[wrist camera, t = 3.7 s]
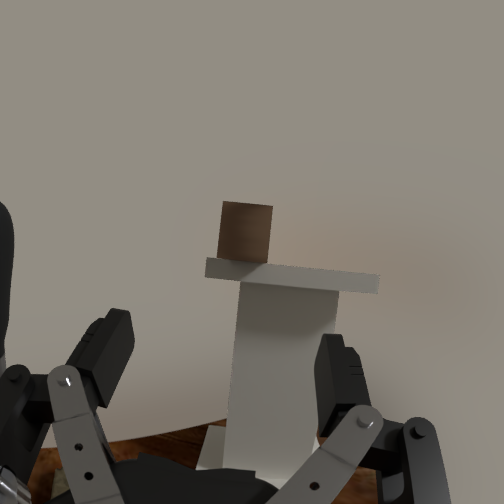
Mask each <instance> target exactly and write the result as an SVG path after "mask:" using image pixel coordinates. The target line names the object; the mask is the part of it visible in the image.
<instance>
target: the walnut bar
mask: <svg viewBox="0 0 504 504" xmlns="http://www.w3.org/2000/svg"><path fill="white" fill-rule="evenodd" d="M272 209H273V206H267V205H259V204H249V203H238V202H228V201H223V207H222V215H221V223H220V233H219V241H218V250H217V251H218V252H217V258H221V259H227V260H236V261H246V262H255V263H267V259H268V249H269V239H270V229H271V220H272Z"/></svg>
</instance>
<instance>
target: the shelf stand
mask: <svg viewBox="0 0 504 504" xmlns="http://www.w3.org/2000/svg"><path fill="white" fill-rule="evenodd" d="M205 277H207V278H217V279H226V280H234V281H241V282H240V292H239V302H238V312H237V322H236V332H235V341H234V352H233V362H232V372H231V383H230V392H229V403H228V414H227V424H226V427H220V426H213V425H209V427H208V430H207V434H206V437H205V440H204V444H203V447H202V450H201V453H200V457H199V460H198V463H197V467H196V470H207V469H219V468H232V469H241V470H253V471H256V474H255V478H259V479H262V480H264V481H266V482H268V483H270V484H272V485H274V486H275V487H276V488H278V489H279V490H280V488H281V487H282V486H283V485H284V484H285V483H286V482H287V481H288V480H289V479H290V478H291V477H292V476H293V475H294V474H295V473H296V472H297V470H298V469H299V468H300V467H301V466H302V465H303V464H304V463H305V462H306V460H307V459H308V458H309V457H310V456H311V455H312V454H313V452H314V451H315V450H316V449H317V448H318V447H319V444H318V441H317V438H316V432H317V427H318V412H317V401H316V390H315V379H314V363H315V358H316V355H317V352H318V348H319V345H320V342H321V338H322V335H323V334H324V333H327V334H334V328H335V321H336V314H337V306H338V298H339V291H349V292H361V293H374V294H377V293H378V285H379V275H376V274H365V273H354V272H345V271H334V270H324V269H314V268H304V267H294V266H284V265H274V264H265V263H255V262H246V261H236V260H227V259H217V258H208V257H207V260H206V270H205Z"/></svg>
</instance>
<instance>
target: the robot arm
mask: <svg viewBox="0 0 504 504" xmlns="http://www.w3.org/2000/svg"><path fill="white" fill-rule="evenodd" d="M13 258H14V229H13V223H12V219H11V216H10V214H9V212H8V210H7V209H6V207H5V206H4V205H3V204H2V203H1V202H0V504H31V495H30V491H29V489H28V487H27V483H28V480H29V478H30V475H31V472H32V469H33V467H34V464H35V462H36V459H37V456H38V454H39V451H40V449H41V446H42V444H43V441H44V439H45V436H46V434H47V432H48V429H49V427H50V424H52V427H53V431H54V436H55V440H56V443H57V447H58V451H59V455H60V458H61V462H62V465H63V468H64V472H65V475H66V478H67V481H68V484H69V487H70V489H69V490H67V491H65V492H63V493H62V494H60V495H58V496H56V497H54V498H53V499H51V500H49V501H47V502H45V503H43V504H331V502H332V501H333V500H334V499H335V497H336V496H337V495H338V493H339V492H340V491H341V489H342V488H343V487H344V485H345V484H346V483H347V481H348V480H349V479H350V477H351V476H352V474H353V473H354V472H355V470H356V467H357V466H361V467H365V468H369V469H374V470H376V480H377V492H378V504H451V500H450V494H449V488H448V483H447V478H446V474H445V468H444V464H443V459H442V455H441V450H440V446H439V442H438V438H437V434H436V430H435V428H434V426H433V425H432V423H431V422H429V421H428V420H426V419H425V418H421V417H414V418H411V419H409V420H408V421H407V422H406V423H405V424H402V423H398V422H394V421H389V420H386V419H384V418H382V415H381V414H380V413H379V411H378V410H376V409H375V408H373V407H372V406H371V402H370V398H369V393H368V389H367V385H366V381H365V377H364V372H363V369H362V364H361V360H360V357H359V355H358V354H357V353H356V351H355V350H354V349H353V348H352V347H345V345H344V341H343V337H342V335H341V334H327V333H324V334H323V335H322V338H321V342H320V345H319V348H318V352H317V355H316V358H315V363H314V379H315V390H316V401H317V412H318V424H319V437H328V439H327V440H326V441H325V442H324V443H323V445H322V446H321V447H318V448H317V449H316V450H315V451H314V452H313V454H312V455H311V456H310V457H309V458H308V459H307V460H306V462H305V463H304V464H303V465H302V466H301V467H300V468H299V469H298V470H297V472H296V473H295V474H294V475H293V476H292V477H291V478H290V479H289V480H288V481H287V482H286V483H285V484H284V485H283V486H282V487H281V488H280V490H279V489H278V488H276V487H275V486H274V485H272V484H270V483H268V482H266V481H264V480H262V479H259V478H255V474H256V471H253V470H241V469H232V468H219V469H207V470H193V469H191V468H188V467H186V466H183V465H181V464H179V463H176V462H174V461H172V460H170V459H167V458H163V457H159V456H154V455H150V454H146V453H141V452H139V455H138V459H127V460H122V461H119V462H116V460H115V457H114V455H113V453H112V451H111V449H110V447H109V444H108V442H107V439H106V437H105V434H104V431H103V429H102V426H101V423H100V420H99V417H98V415H97V413H96V409H97V407H98V406H100V407H103V408H107V407H108V404H109V402H110V400H111V398H112V395H113V393H114V391H115V389H116V386H117V384H118V382H119V380H120V377H121V375H122V373H123V371H124V369H125V367H126V365H127V362H128V360H129V358H130V356H131V354H132V352H133V349H134V342H135V338H134V332H133V327H132V321H131V316H130V312H129V311H126V310H120V309H115V308H112V309H110V311H109V312H108V314H107V315H106V317H105V318H99V319H97V320H96V321H94V322H93V323H92V324H91V325H90V326H89V328H88V329H87V331H86V332H85V334H84V335H83V337H82V338H81V341H80V342H79V343H78V345H77V346H76V348H75V349H74V351H73V353H72V354H71V356H70V357H69V359H68V361H67V362H66V364H65V365H61V366H58V367H56V368H54V369H53V370H52V371H51V372H50V373H49V374H47V375H44V374H30V371H29V370H28V368H26V367H25V366H24V365H18V364H17V365H12V366H10V367H9V368H7V369H6V361H5V349H4V339H5V335H6V330H7V327H8V321H9V305H10V288H11V277H12V268H13Z"/></svg>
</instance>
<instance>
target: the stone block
mask: <svg viewBox="0 0 504 504" xmlns="http://www.w3.org/2000/svg"><path fill="white" fill-rule="evenodd" d="M69 489H70V487H69V484H68V481H67V478H66V475H65V472H64V468H63V467H62V468H61V469H58V468H57V469H56V470H55V475H54V481H53V487H52V493H51V499H53V498H54V497H56V496H58V495H60V494H62V493H63V492H65V491H67V490H69Z"/></svg>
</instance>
